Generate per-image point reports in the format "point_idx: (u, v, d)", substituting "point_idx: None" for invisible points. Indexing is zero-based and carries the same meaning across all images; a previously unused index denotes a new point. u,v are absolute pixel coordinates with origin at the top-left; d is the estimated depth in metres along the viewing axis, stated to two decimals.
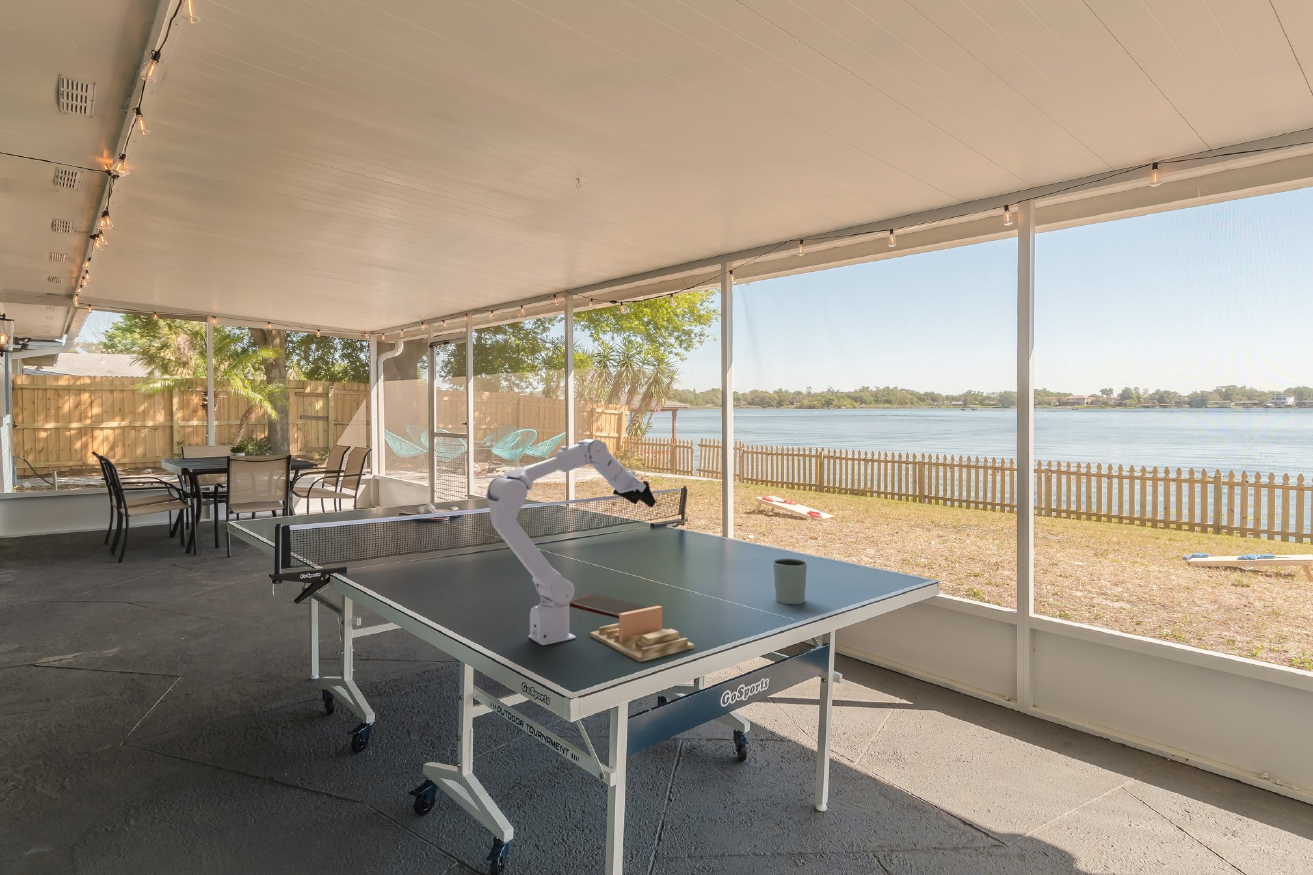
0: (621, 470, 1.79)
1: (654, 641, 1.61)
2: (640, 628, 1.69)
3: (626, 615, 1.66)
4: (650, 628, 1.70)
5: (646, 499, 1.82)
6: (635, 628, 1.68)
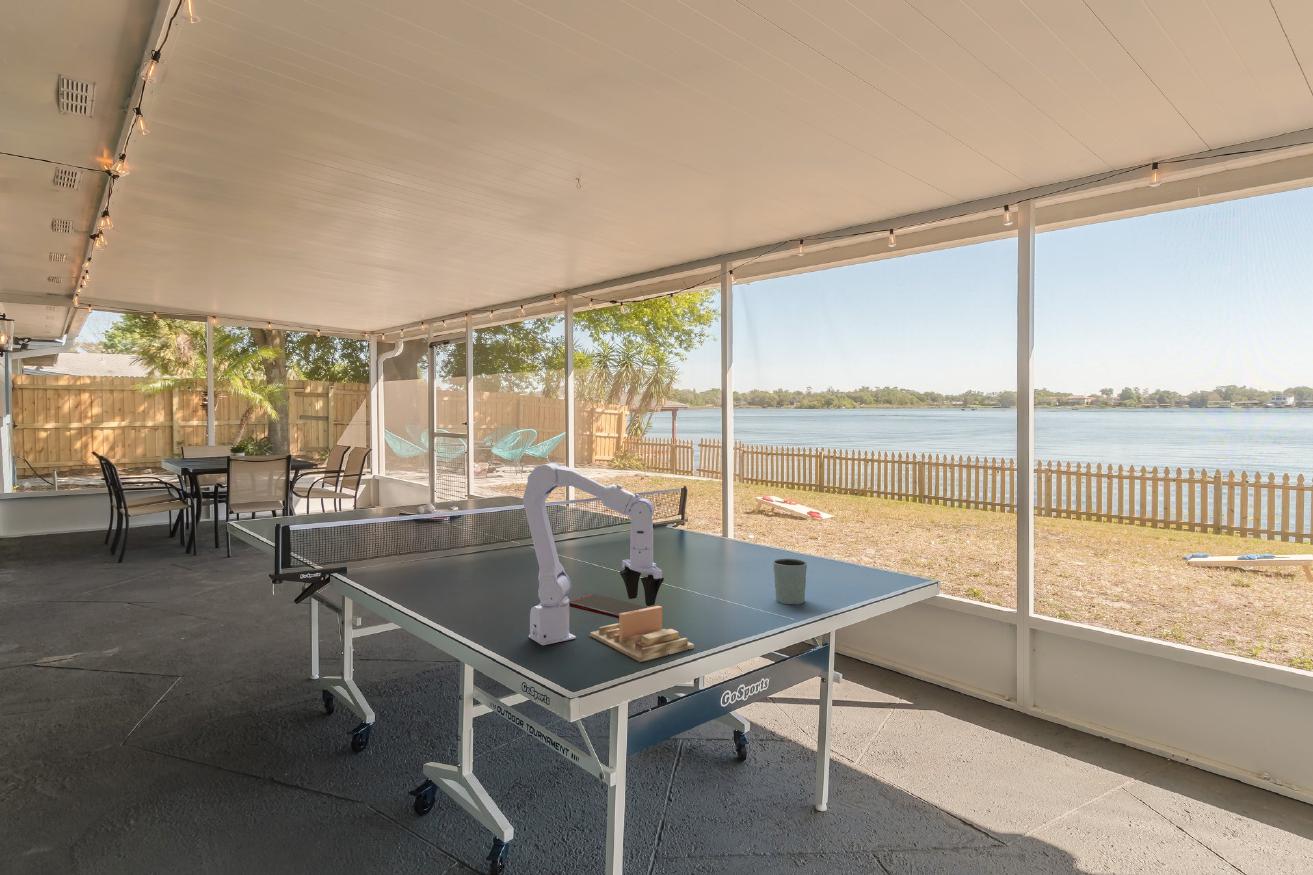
0: (650, 548, 1.67)
1: (654, 641, 1.61)
2: (640, 628, 1.69)
3: (626, 615, 1.66)
4: (650, 628, 1.70)
5: (649, 593, 1.65)
6: (635, 628, 1.68)
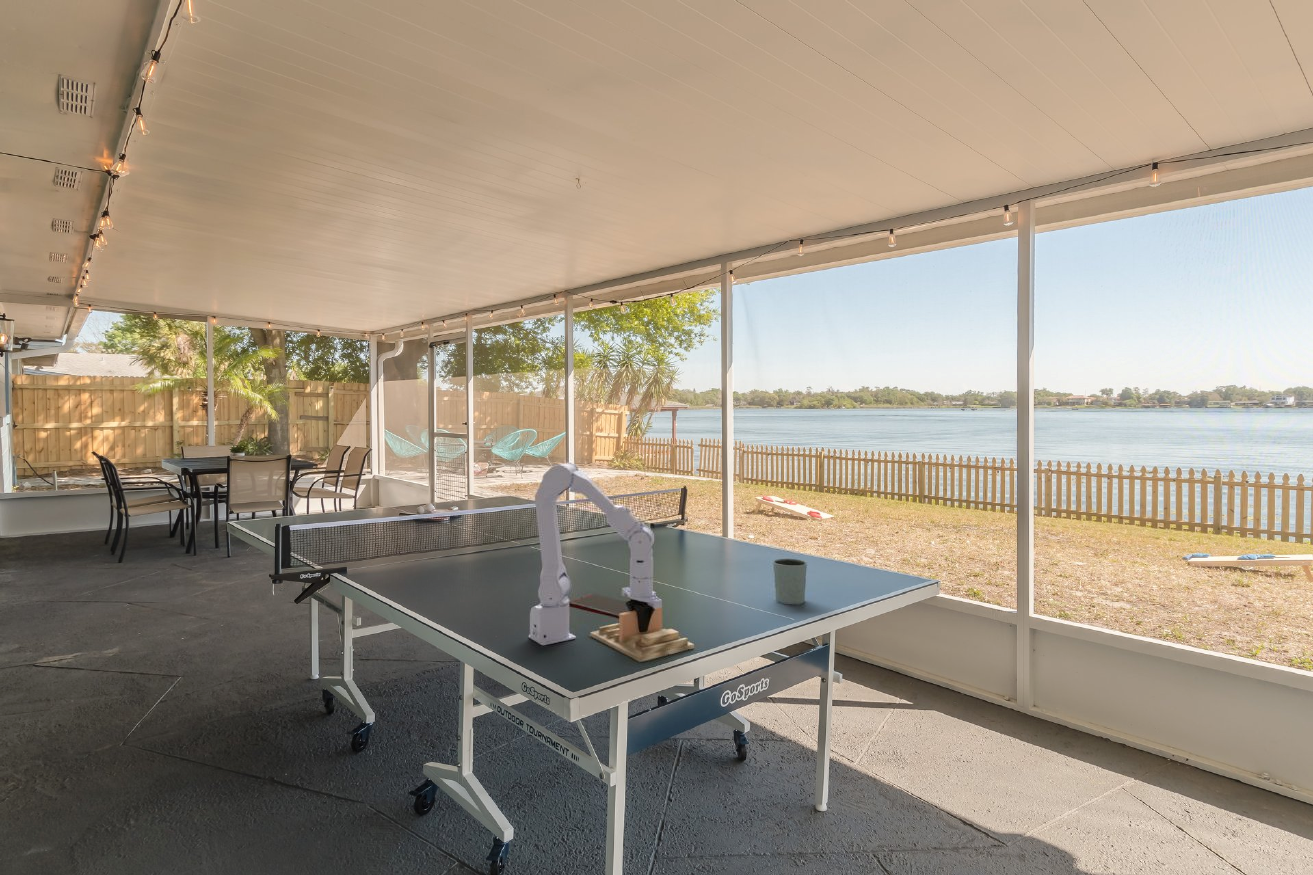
0: (650, 577, 1.67)
1: (654, 641, 1.61)
2: None
3: (626, 615, 1.66)
4: (650, 628, 1.70)
5: (642, 620, 1.68)
6: (635, 628, 1.68)
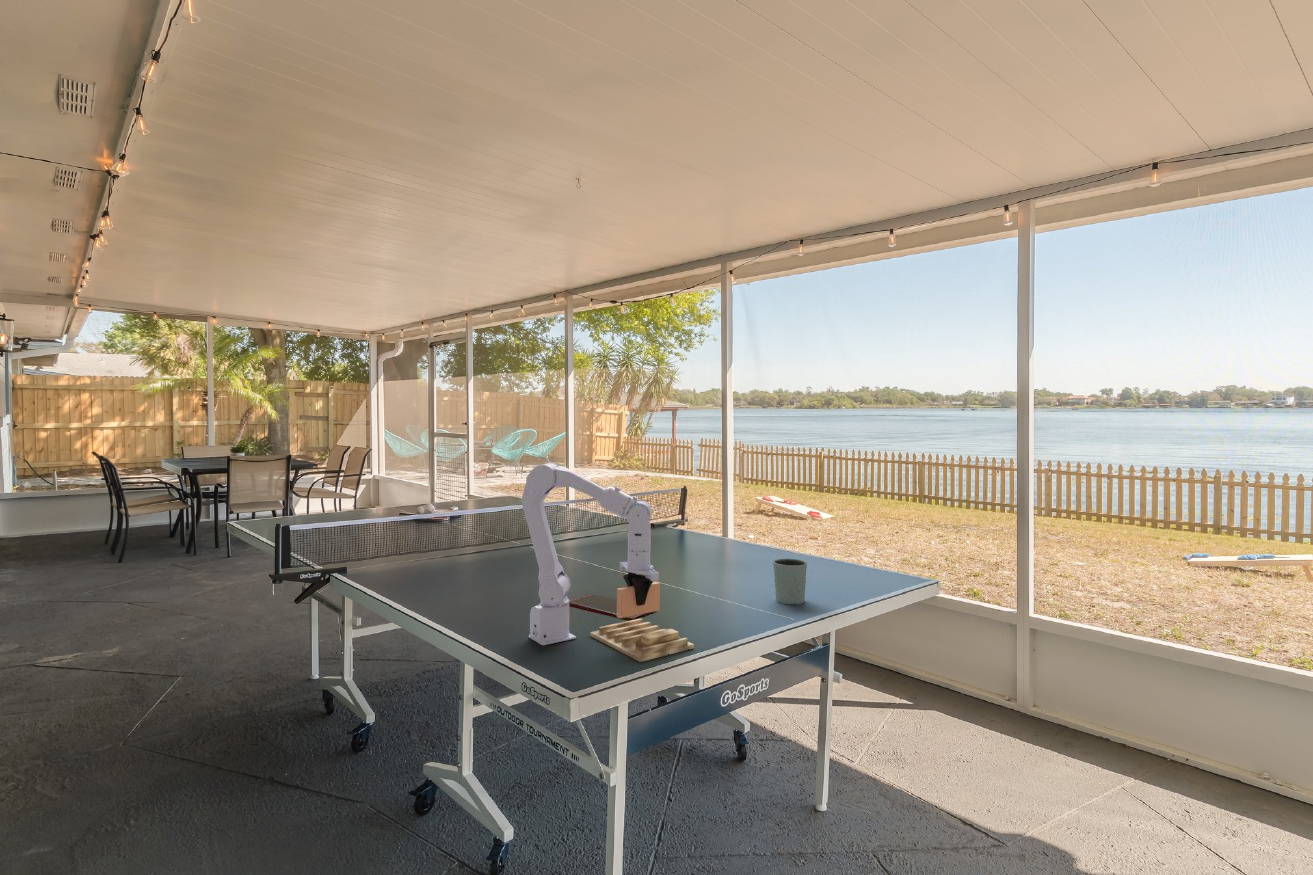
0: (648, 551, 1.68)
1: (654, 641, 1.61)
2: None
3: (624, 590, 1.67)
4: (648, 604, 1.71)
5: (640, 593, 1.68)
6: (632, 603, 1.68)
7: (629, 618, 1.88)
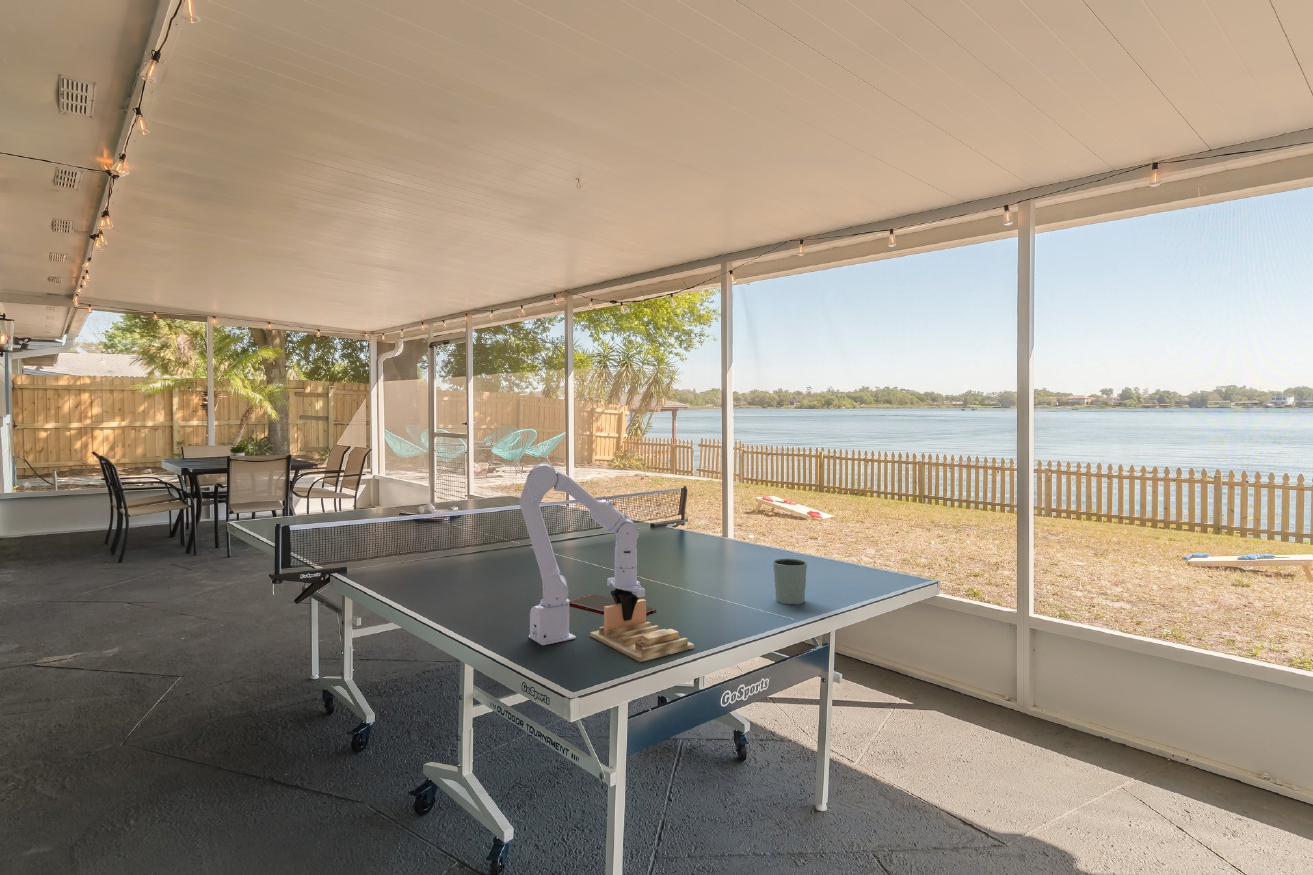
0: (634, 567, 1.73)
1: (654, 641, 1.61)
2: None
3: (611, 608, 1.72)
4: (635, 621, 1.76)
5: (626, 608, 1.73)
6: (619, 620, 1.73)
7: None
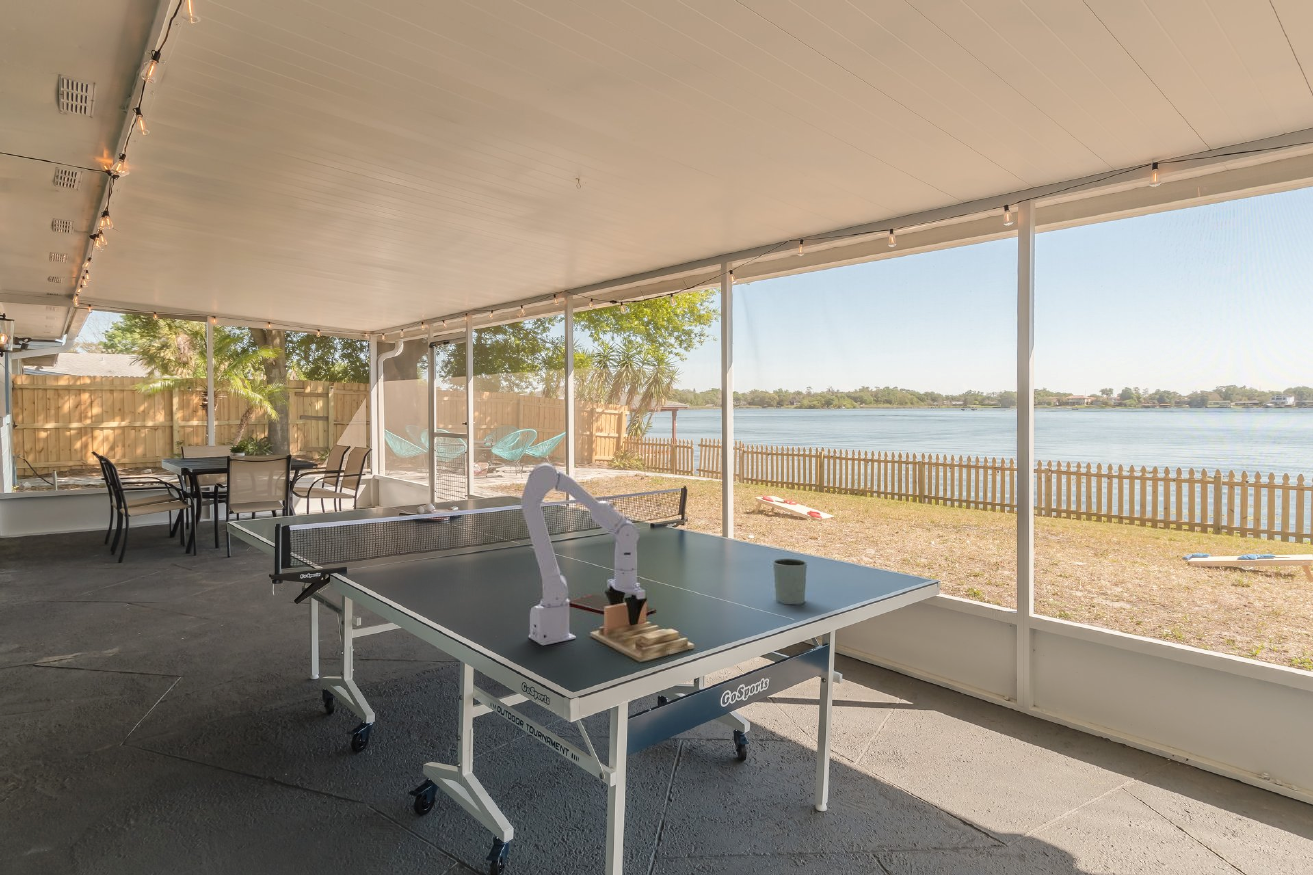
0: (634, 569, 1.73)
1: (654, 641, 1.61)
2: (624, 621, 1.74)
3: (611, 608, 1.72)
4: None
5: (633, 613, 1.71)
6: (619, 620, 1.73)
7: None
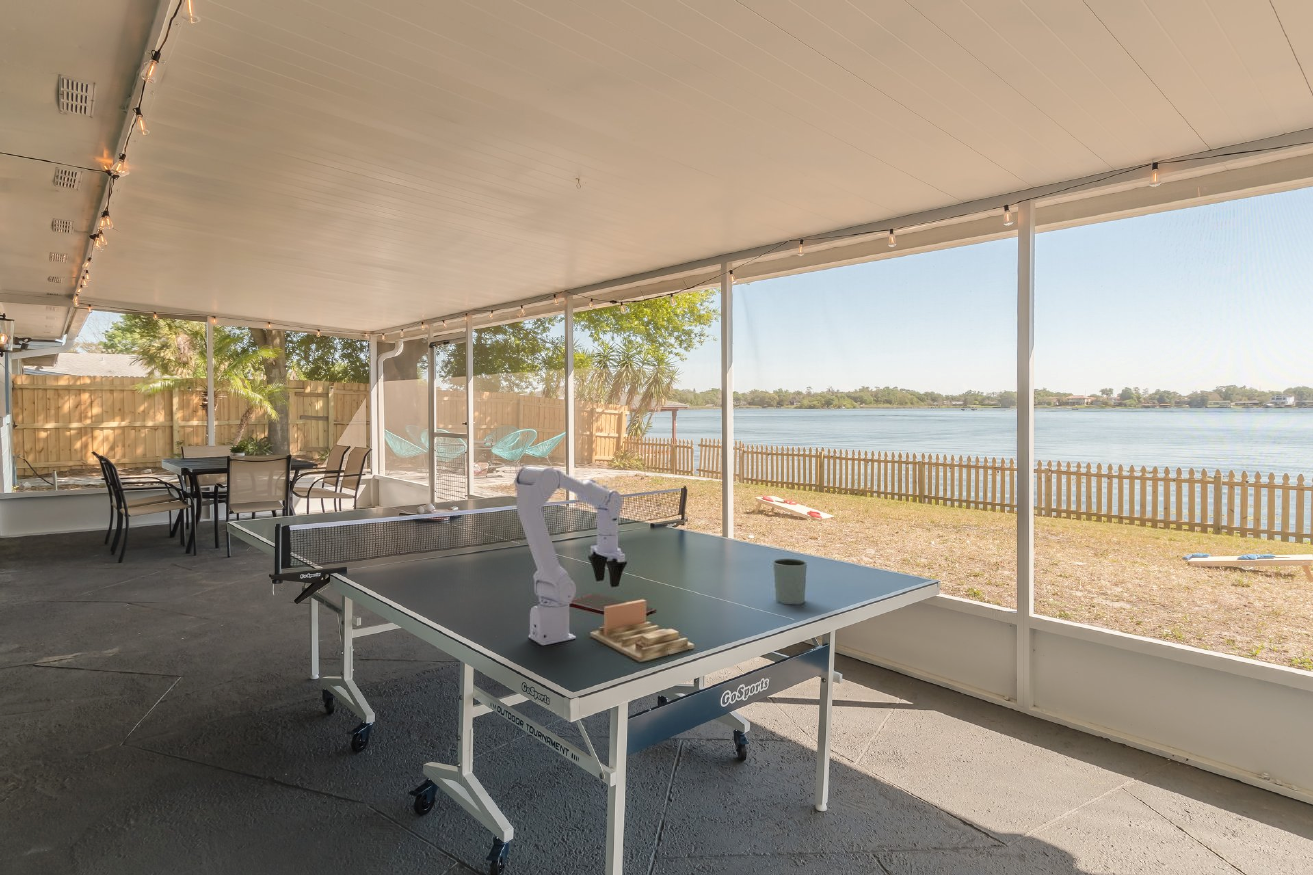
0: (615, 535, 1.84)
1: (654, 641, 1.61)
2: (624, 621, 1.74)
3: (611, 608, 1.72)
4: (635, 621, 1.76)
5: (614, 575, 1.82)
6: (619, 620, 1.73)
7: None
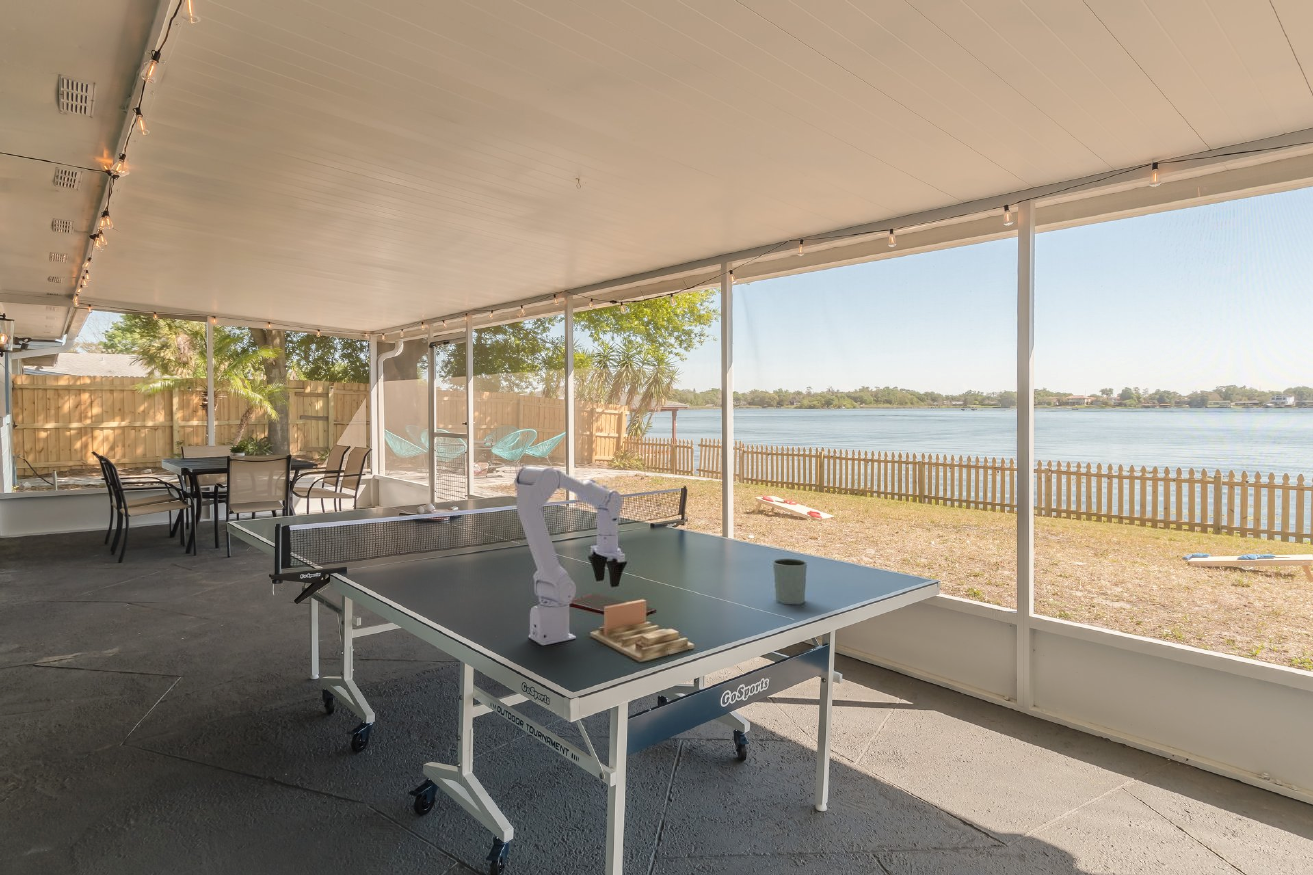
0: (615, 535, 1.84)
1: (654, 641, 1.61)
2: (624, 621, 1.74)
3: (611, 608, 1.72)
4: (635, 621, 1.76)
5: (613, 575, 1.82)
6: (619, 620, 1.73)
7: None
